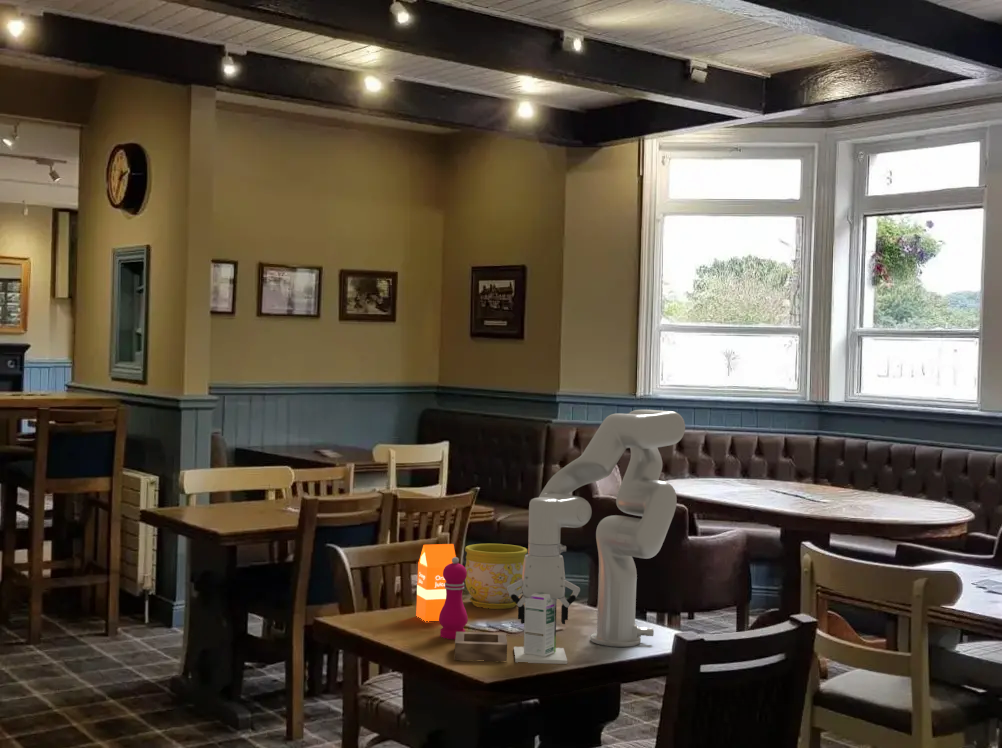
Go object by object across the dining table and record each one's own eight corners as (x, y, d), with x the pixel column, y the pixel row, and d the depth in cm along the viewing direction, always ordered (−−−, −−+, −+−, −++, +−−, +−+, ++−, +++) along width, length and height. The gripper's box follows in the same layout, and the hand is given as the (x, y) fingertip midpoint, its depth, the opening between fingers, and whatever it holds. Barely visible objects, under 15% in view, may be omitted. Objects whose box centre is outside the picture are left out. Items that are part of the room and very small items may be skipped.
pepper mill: (463, 641, 278) (466, 560, 278) (435, 638, 280) (437, 558, 280) (469, 634, 285) (472, 555, 286) (442, 632, 287) (445, 554, 287)
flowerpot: (506, 614, 313) (508, 554, 313) (451, 605, 321) (453, 548, 321) (536, 603, 328) (538, 547, 328) (482, 596, 337) (484, 541, 337)
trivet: (563, 651, 271) (563, 648, 271) (567, 664, 259) (567, 660, 259) (513, 649, 271) (513, 646, 271) (515, 662, 259) (515, 658, 259)
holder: (505, 649, 271) (506, 633, 271) (506, 662, 259) (507, 644, 259) (455, 648, 271) (456, 631, 271) (454, 660, 259) (455, 643, 259)
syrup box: (544, 657, 261) (546, 595, 261) (522, 653, 264) (524, 591, 264) (555, 652, 266) (558, 591, 266) (533, 649, 269) (536, 588, 269)
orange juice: (415, 616, 305) (418, 542, 306) (446, 614, 309) (449, 541, 309) (425, 622, 298) (427, 546, 298) (456, 620, 302) (459, 546, 302)
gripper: (579, 548, 269) (578, 619, 269) (507, 547, 269) (505, 618, 269) (582, 553, 262) (580, 627, 262) (507, 552, 261) (506, 626, 261)
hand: (542, 622), depth 265 cm, fingers open, 9 cm apart
